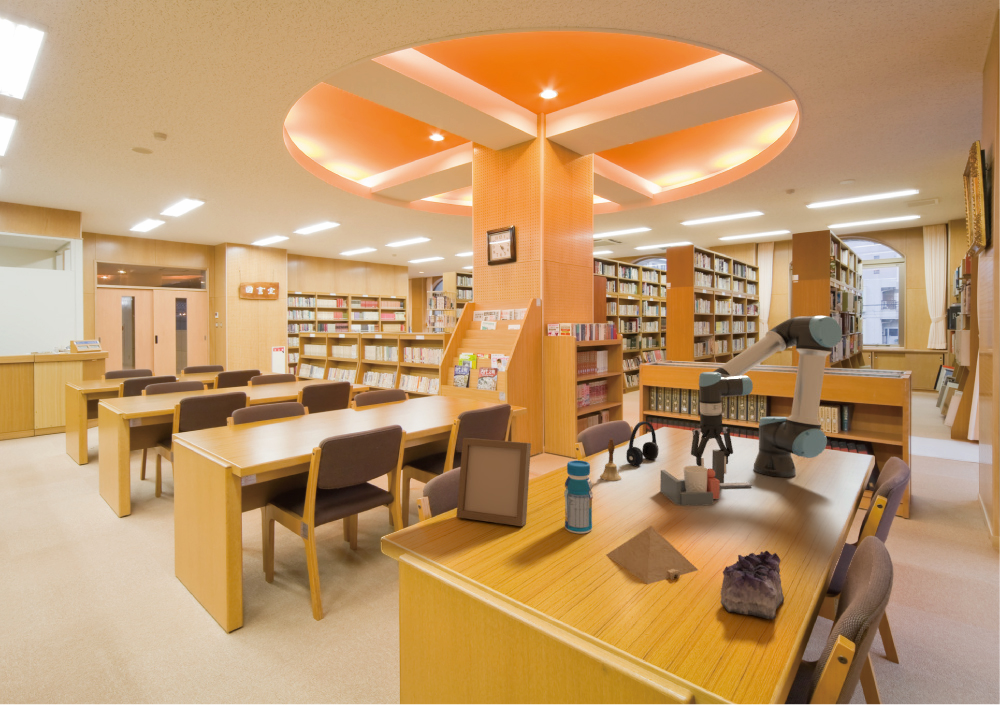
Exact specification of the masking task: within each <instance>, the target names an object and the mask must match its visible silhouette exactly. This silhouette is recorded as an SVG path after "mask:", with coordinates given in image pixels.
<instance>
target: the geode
mask: <svg viewBox="0 0 1000 705" xmlns="http://www.w3.org/2000/svg"><path fill="white" fill-rule="evenodd" d="M737 557H738V558H737V559H738V560H736V562H735V563H733V564H731V565H729V566H725V568H724V569H723V571H722V574H723V578H722V579H723V580H722V583H721V584H722V585H721V587H720V589H721V590H720V604H721V605H722V606H723V607H724V609H725V610H726V612H728V613H737V614H742V615H746V616H747V615H749V616H753V617H759V618H763V619H766V620H775V619H776V616H777V614H776V610H777V609H779V608H780V606H781V604H783V603H784V600H785V597H784V594H783V586H782V580H781V574H780V572H781V568H780V563H781V561H782V560H781V558H780V556H779V555H778V554H777V552H775V553H773V554H772V553H770V551H768V550H765V551H760V553H759V554H755V553H753V552H751V553H749V554H748V555H744V556H742V555H741V554H738V555H737Z"/></svg>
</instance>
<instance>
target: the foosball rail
mask: <svg viewBox="0 0 1000 705" xmlns="http://www.w3.org/2000/svg"><path fill="white" fill-rule="evenodd" d="M745 488H746V489H748V488H749V489H750V488H752V484H750V483H749V482H745V481H744V482H724V483H720V487H719V490H720V489H745Z"/></svg>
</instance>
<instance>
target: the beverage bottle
mask: <svg viewBox="0 0 1000 705" xmlns="http://www.w3.org/2000/svg"><path fill="white" fill-rule="evenodd" d="M566 472H567V475H568V476H567V478H566V480H565V482H564V487H565V490H564V493H563V494H564V510H565V512H564V515H565V517H564V528H565V530H567V531H568V532H569V533H573V534H579V535H580V534H588V533H590V532H591V531H592V529H593V521H592V520H593V498H594V494H593V491H592V489H593V483H592V481H591V479H590V477H589V476H590V474H591V464H590V463H589V462H588V461H584V460H577V459H576V460H571V461H568V462H567V466H566Z"/></svg>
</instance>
